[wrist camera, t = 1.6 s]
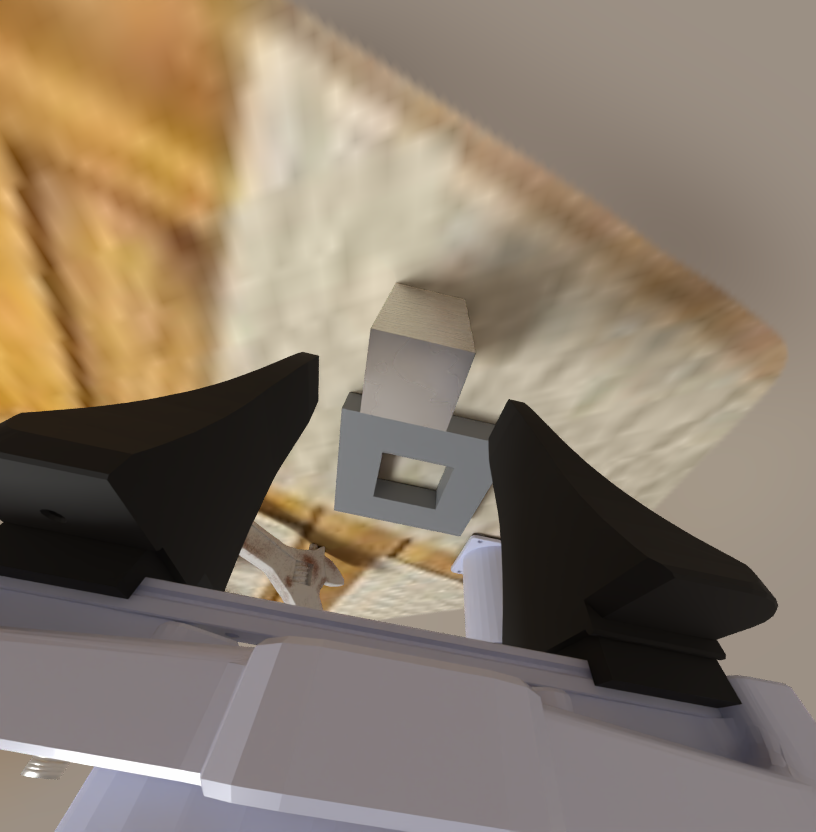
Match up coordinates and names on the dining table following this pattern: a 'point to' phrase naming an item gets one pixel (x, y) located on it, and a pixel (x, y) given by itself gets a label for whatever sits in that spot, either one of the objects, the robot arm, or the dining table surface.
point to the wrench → (291, 567)
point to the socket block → (451, 448)
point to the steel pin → (418, 357)
